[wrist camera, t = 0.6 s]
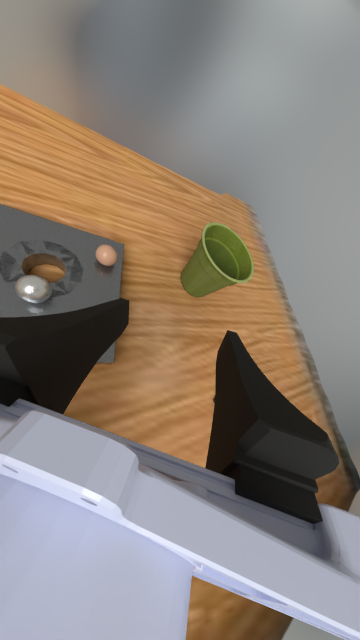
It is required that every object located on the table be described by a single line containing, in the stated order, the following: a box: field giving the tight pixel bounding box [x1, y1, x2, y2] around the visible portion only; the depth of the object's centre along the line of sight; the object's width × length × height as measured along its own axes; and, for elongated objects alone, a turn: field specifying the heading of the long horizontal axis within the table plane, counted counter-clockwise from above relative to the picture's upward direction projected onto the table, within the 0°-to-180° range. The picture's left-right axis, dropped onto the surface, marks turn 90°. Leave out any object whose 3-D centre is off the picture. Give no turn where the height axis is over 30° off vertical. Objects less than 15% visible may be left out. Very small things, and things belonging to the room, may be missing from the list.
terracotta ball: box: [96, 245, 117, 266], centre depth 25 cm, size 3×3×3 cm
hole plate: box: [0, 204, 124, 364], centre depth 22 cm, size 20×19×2 cm
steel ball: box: [15, 275, 52, 303], centre depth 19 cm, size 3×3×3 cm
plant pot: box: [181, 223, 254, 297], centre depth 33 cm, size 12×12×11 cm
